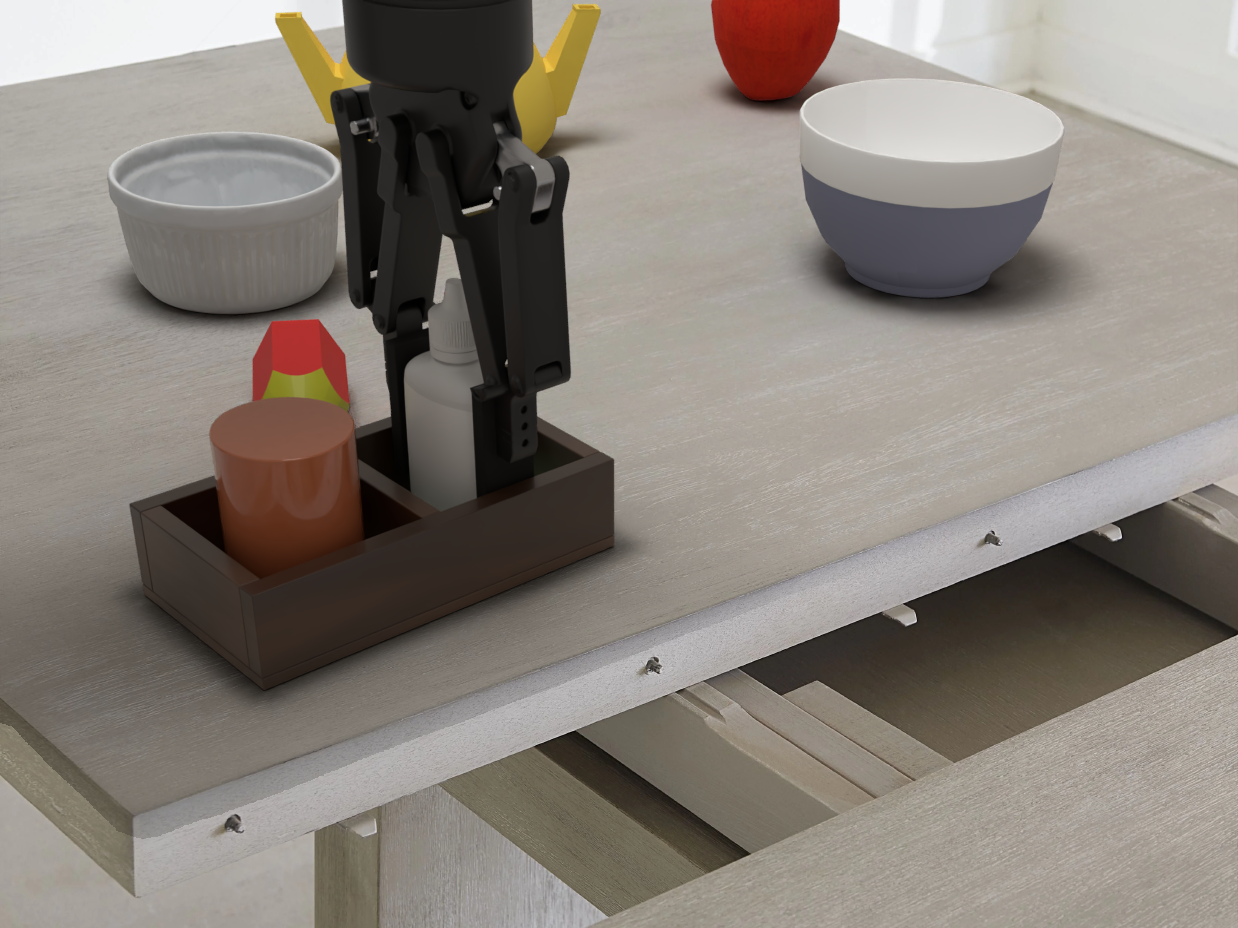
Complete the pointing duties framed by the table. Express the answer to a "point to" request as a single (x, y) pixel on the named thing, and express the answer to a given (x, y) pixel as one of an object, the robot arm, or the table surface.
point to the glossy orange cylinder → (286, 482)
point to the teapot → (534, 95)
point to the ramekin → (229, 219)
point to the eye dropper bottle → (443, 405)
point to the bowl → (926, 179)
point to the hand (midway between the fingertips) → (464, 487)
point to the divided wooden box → (372, 557)
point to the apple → (774, 43)
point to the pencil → (300, 364)
